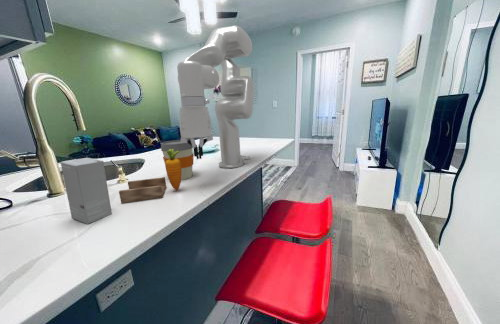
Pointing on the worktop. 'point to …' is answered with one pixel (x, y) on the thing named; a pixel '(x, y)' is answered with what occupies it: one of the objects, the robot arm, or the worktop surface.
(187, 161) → the reusable coffee cup
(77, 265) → the worktop surface
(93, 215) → the skincare box
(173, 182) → the carrot
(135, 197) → the walnut U-rest
